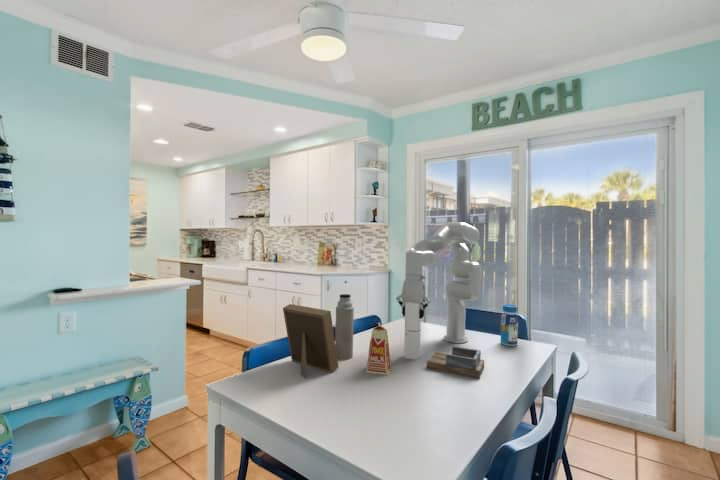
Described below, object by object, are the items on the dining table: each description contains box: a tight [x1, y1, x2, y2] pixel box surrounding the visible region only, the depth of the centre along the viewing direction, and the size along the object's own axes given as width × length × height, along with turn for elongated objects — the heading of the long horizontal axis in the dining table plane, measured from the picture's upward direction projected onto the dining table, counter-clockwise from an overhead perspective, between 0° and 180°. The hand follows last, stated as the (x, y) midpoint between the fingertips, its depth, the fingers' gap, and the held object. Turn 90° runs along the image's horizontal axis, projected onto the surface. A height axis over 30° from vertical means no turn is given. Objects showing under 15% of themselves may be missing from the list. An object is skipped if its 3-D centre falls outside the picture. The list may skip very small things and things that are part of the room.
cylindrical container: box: [403, 302, 422, 361], centre depth 163 cm, size 7×7×25 cm
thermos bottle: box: [334, 293, 355, 361], centre depth 162 cm, size 8×8×28 cm
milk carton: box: [365, 322, 392, 376], centre depth 147 cm, size 9×9×20 cm
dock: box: [426, 346, 485, 379], centre depth 151 cm, size 14×21×7 cm, turn 64°
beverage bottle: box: [500, 304, 519, 347], centre depth 187 cm, size 8×8×20 cm
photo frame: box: [282, 303, 339, 379], centre depth 145 cm, size 15×22×25 cm
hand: (412, 316), depth 163 cm, fingers closed on cylindrical container, 7 cm apart
